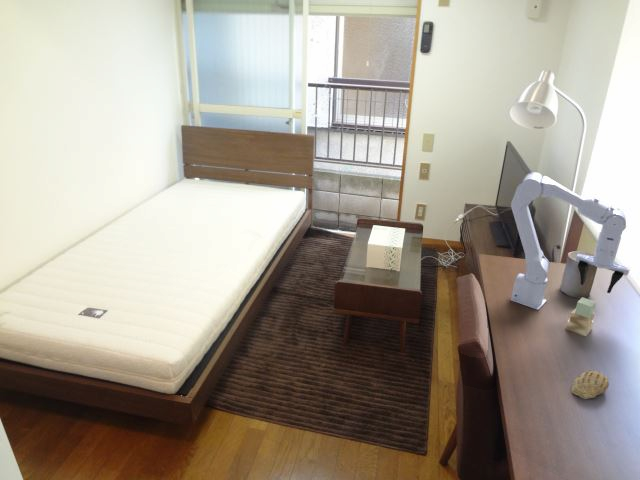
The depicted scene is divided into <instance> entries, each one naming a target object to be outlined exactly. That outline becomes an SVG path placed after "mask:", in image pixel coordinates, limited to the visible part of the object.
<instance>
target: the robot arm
mask: <svg viewBox="0 0 640 480" xmlns="http://www.w3.org/2000/svg"><path fill="white" fill-rule="evenodd" d="M540 195H541V198H546V197H554V198H557V199H558V200H561V201H563V202H565V203H566V204H568V205H571V206H573V207H575V208H577V211H578V214H580V215H582V216H583V217H585V218H587V219H588V220H590V221H592V222H594V223H595V224H598V225H602V227H601V231H600V232H599V234H598V238H597V242H596V245H595V248H594V249H595V250H594V253H593V255H594V256H587V255H581V254H578V255H577V257H576V261H577V262H579V264H578V268H579V271H580V276H581V285H583V284H584V283H585V280H586V275H587V271H588V268H589V265H590V264H591V265H594V266H596V267H597V269H604V270H607V271H612V272H613V273H612V274H611V277H610V282H609V286H608V288H607V290H606V293H607V294H611V292H612V290H613V288H614V286H616V284H617V283H618V282H619V281H620V280H621V278H623V276H629V273H630V270H631V267H628V266H626V265H622V264H620V263H618V262H615V260H616V256H617V254H618V250H619V246H620V242H621V240H622V234H623V232H624V231H625V229H626V227H627V221H626V219H627V218H626V215H625V213H624V212H623V211H622V210H620V209H619V208H616V207H613V206H612V205H611V206H609V205H607V204H605V203H602V202H600V198H598V197H594V198H593V197H591V196H588V197H582V196H581V195H579V194H577V193H576V192H573V191H571V190H570V189H568V188H567V187H565V186H563V185H562V184H560V183H558V182H556V181H555V180H553V179H551V178H550V177H549V176H546V175H544V176H543V175H542V174H541V173H540V172H535V171H533V172H529V173H527V174H526V175H525V176H524V177H523V179H522V180H521V181H520V182H519V184H518V186H517V187H516V189H515V192H514V195H513V198H512V199H511V200H512V201H511V202H510V206H511V208H510V209H511V210H512V214H513V217H514V221H515V224H516V228H517V232H518V234H519V237H520V241H521V245H522V247H523V251H524V256H525V266H526V270H525V273H521V272H520V273H518V274H517V276H516V278H515V280H514V283H513V288H512V293H511V297H510V301H512V302H515V303H516V304H520V305H523V306H526V307H528V308H531V309H534V310H537V311H539V310H540V309H541V308H542V307H543V306H544V305H545V303H546V302H547V299H546V298H544V297H545V292H546V289H547V284H548V271H549V268H550V261H549V259H547V257H546V256H545V255H544V252H543V250H542V249H541V247H540V243H539V240H538V239H539V238H538V235H537V232H536V229H535V225H534V222H533V218H532V214H531V211H530V208H529V205H530V204H531V202H532V201H533V200H535V199H537V198H538V197H539V196H540Z"/></svg>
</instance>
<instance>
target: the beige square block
mask: <svg viewBox="0 0 640 480" xmlns="http://www.w3.org/2000/svg"><path fill="white" fill-rule="evenodd" d="M575 310H576V308H575V309H573V311H571V313H570V316H569V319H570V320H569V319H568V320H569V321H571V322H574V323H576V324H579V325H581V326H584V327H587V326H588V325H589V324H590V323H591V322H592V321H593V322H594V317H595V314H596V313H595V312H593V314H592V315H591V316H590V317H589V318H586V317H583V316H581V315H578V314H575Z"/></svg>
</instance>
